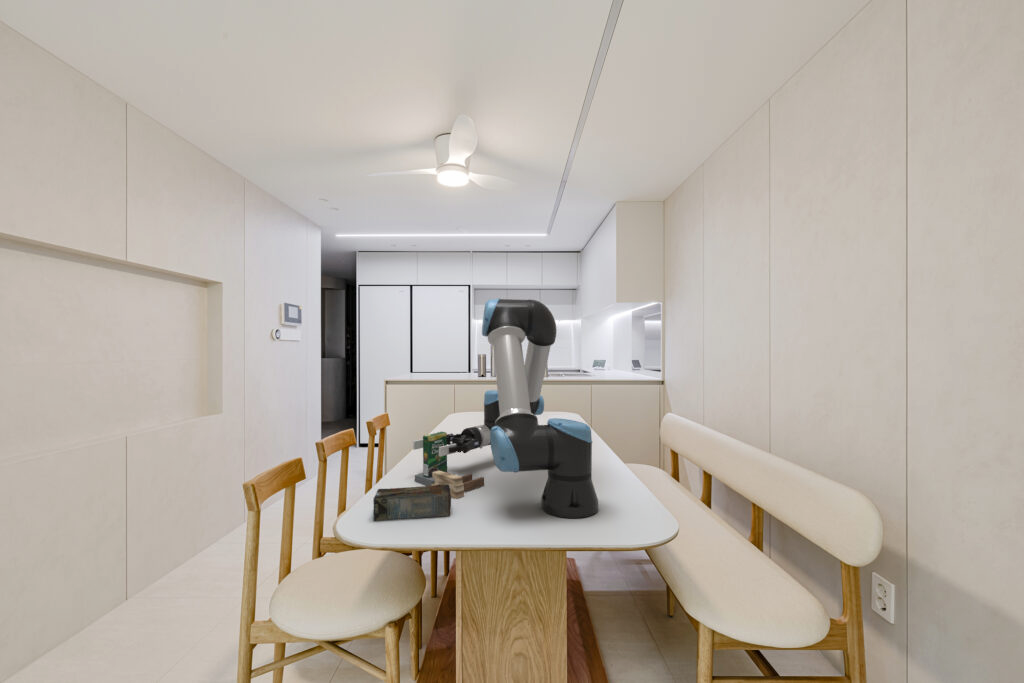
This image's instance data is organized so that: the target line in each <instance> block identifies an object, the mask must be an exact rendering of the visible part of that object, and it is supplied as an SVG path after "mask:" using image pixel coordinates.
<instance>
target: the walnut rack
mask: <svg viewBox="0 0 1024 683" xmlns="http://www.w3.org/2000/svg"><path fill="white" fill-rule="evenodd" d="M460 477H463V484H464V493H467V491H468V492H469V491H473V490H476V489H478V487H479V488H482V487H484V486H485V477H483V476H480V477H477V478H473V473H469V474H465V475H460ZM481 486H482V487H481ZM475 488H476V489H475ZM472 489H473V490H472Z"/></svg>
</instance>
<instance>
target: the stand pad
mask: <svg viewBox="0 0 1024 683" xmlns="http://www.w3.org/2000/svg"><path fill="white" fill-rule="evenodd" d="M446 473H450V474H453V475H456V474H455V473H451V472H448V471H447V472H446ZM415 481H417V482H416V483H418V482H419V483H418V484H421V483H422V484H421V485H424V484H425V485H424V486H427V485H428V486H431V484H434V483H435V479H433V478H432V477H429V478H427V477H424V476H423V472H422V473H421V472H420V473H418V474H415V475H414V482H415Z"/></svg>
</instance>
